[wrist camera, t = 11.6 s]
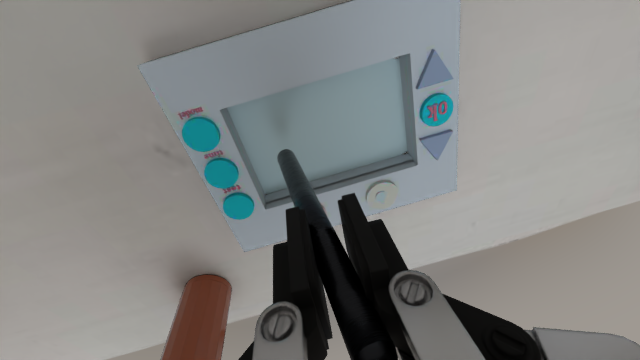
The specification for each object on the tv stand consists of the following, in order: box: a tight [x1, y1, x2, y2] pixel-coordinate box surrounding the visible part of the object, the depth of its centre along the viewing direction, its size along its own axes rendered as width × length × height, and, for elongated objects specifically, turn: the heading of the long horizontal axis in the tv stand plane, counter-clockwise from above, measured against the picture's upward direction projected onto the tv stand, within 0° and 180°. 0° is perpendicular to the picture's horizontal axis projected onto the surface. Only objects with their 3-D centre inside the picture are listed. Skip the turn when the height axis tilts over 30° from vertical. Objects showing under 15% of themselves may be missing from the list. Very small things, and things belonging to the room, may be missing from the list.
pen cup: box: [160, 275, 232, 360], centre depth 24 cm, size 4×4×8 cm
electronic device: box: [137, 0, 460, 252], centre depth 19 cm, size 18×2×15 cm
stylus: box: [277, 149, 398, 360], centre depth 13 cm, size 1×1×14 cm
